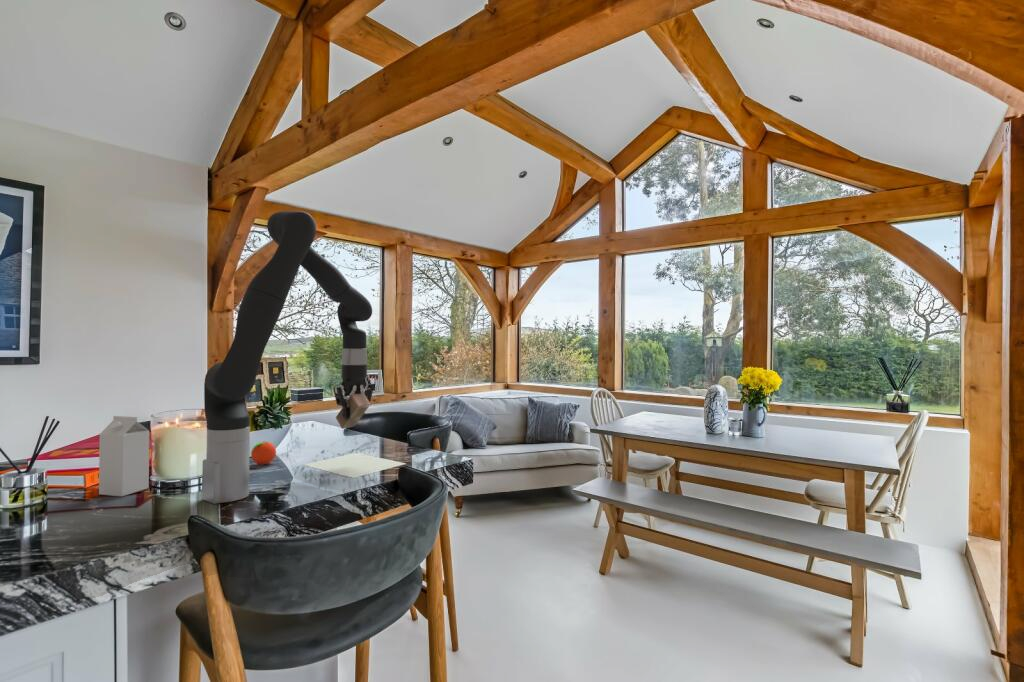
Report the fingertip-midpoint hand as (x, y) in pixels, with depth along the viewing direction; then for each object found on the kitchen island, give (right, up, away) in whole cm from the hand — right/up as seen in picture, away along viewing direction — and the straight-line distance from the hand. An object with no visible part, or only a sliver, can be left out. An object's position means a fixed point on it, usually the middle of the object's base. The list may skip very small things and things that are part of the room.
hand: (353, 418), depth 154 cm
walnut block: (-4, -2, +2) cm, 5 cm away
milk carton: (-49, -14, -29) cm, 58 cm away
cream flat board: (+1, -15, -1) cm, 15 cm away
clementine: (-28, -15, 0) cm, 32 cm away
